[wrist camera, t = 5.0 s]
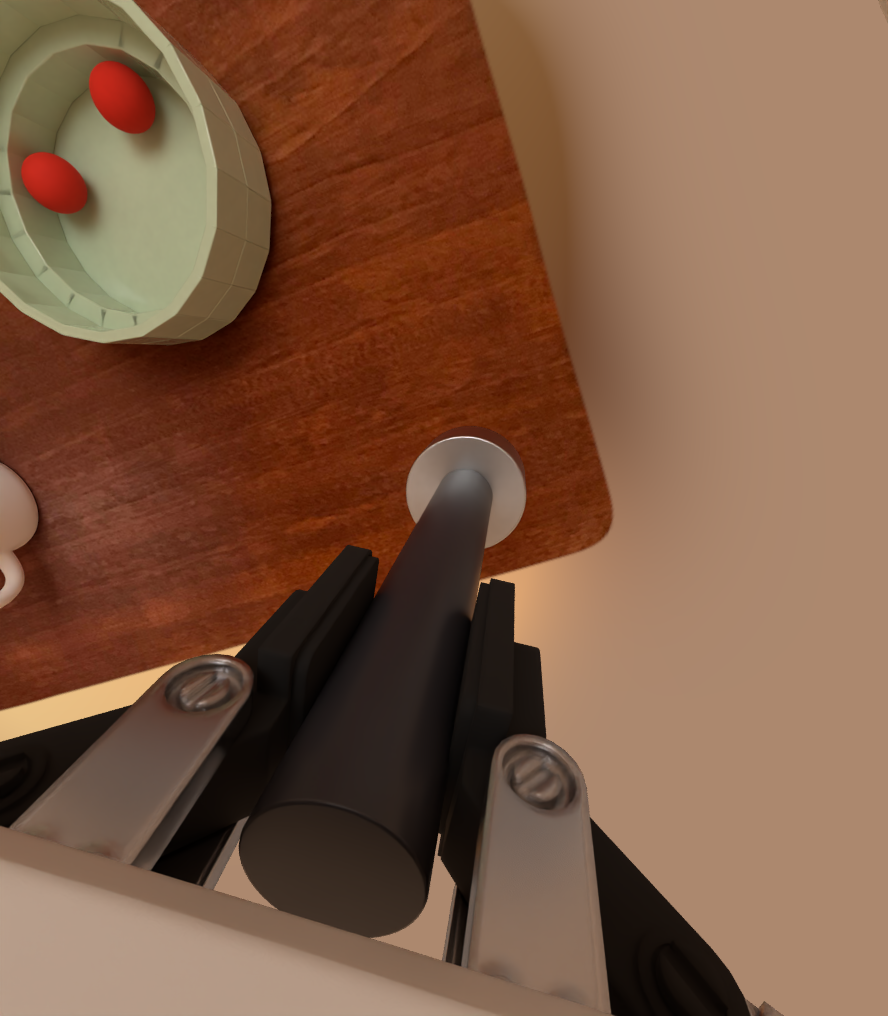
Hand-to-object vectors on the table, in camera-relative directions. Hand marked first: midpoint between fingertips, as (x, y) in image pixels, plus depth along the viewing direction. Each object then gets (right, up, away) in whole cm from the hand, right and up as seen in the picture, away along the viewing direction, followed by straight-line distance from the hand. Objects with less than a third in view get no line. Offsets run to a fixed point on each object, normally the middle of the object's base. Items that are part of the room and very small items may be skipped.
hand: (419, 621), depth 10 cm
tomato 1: (-23, +22, +17) cm, 36 cm away
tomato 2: (-17, +25, +15) cm, 34 cm away
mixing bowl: (-18, +22, +18) cm, 33 cm away
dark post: (+2, +4, +11) cm, 12 cm away
